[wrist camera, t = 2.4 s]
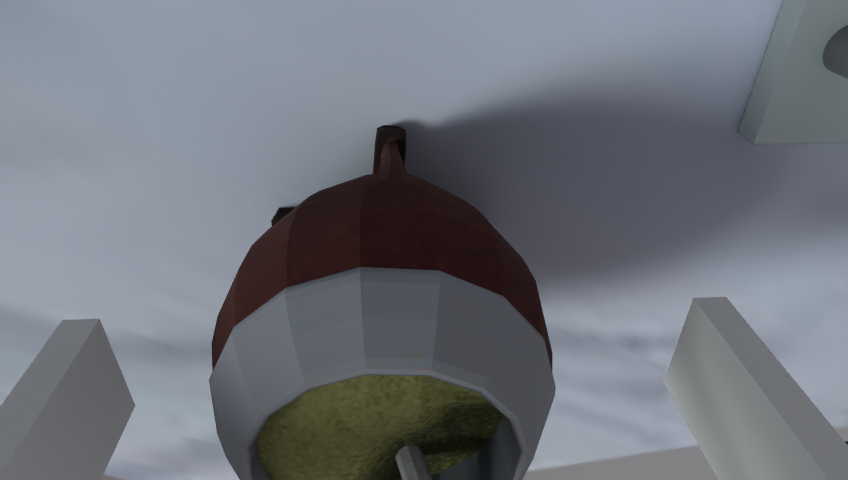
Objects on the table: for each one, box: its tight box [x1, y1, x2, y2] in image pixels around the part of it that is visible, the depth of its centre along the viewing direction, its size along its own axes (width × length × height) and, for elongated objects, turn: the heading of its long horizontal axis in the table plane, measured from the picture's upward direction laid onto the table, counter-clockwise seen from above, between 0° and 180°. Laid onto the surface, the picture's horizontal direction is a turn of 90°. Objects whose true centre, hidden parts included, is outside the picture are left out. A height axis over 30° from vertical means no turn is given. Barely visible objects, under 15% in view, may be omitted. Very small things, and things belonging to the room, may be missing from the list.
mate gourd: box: [209, 126, 556, 480], centre depth 10 cm, size 8×8×15 cm
